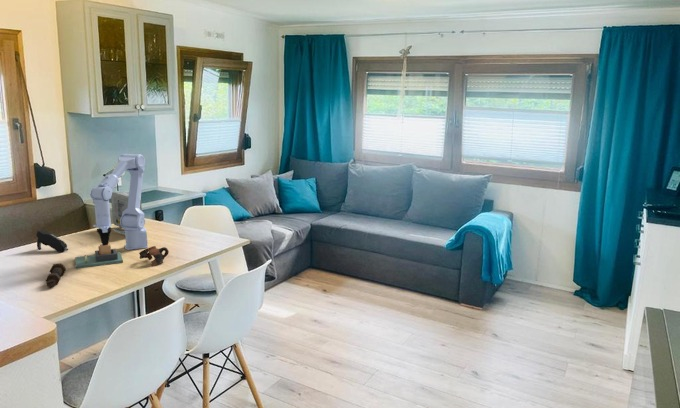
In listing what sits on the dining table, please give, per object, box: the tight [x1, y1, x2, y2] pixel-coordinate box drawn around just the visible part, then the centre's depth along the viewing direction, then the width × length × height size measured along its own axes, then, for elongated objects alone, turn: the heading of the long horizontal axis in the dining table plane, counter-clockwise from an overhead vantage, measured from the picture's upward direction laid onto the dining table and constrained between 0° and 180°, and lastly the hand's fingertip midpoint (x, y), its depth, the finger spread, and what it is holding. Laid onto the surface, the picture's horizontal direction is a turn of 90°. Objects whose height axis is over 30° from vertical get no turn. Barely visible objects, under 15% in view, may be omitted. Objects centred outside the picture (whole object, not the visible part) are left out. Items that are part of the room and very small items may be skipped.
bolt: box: [45, 262, 67, 288], centre depth 195 cm, size 6×5×15 cm
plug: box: [97, 242, 112, 255], centre depth 220 cm, size 5×4×6 cm
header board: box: [75, 248, 124, 269], centre depth 219 cm, size 18×13×4 cm
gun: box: [36, 229, 69, 253], centre depth 233 cm, size 3×16×10 cm, turn 79°
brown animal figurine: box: [138, 245, 169, 267], centre depth 219 cm, size 12×10×8 cm
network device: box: [110, 190, 143, 236], centre depth 265 cm, size 26×9×20 cm, turn 49°
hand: (105, 244), depth 220 cm, fingers closed, pressing on plug
